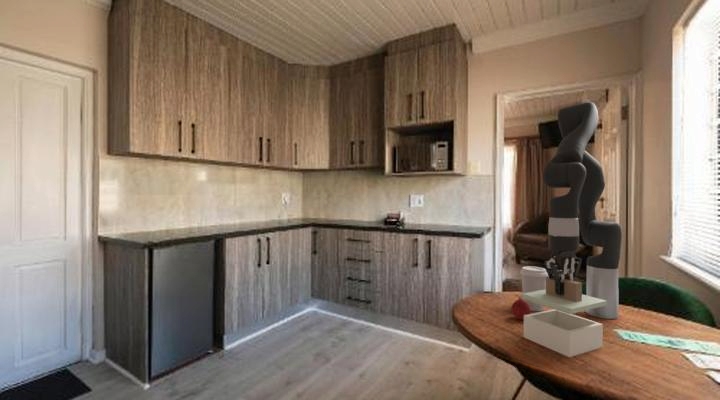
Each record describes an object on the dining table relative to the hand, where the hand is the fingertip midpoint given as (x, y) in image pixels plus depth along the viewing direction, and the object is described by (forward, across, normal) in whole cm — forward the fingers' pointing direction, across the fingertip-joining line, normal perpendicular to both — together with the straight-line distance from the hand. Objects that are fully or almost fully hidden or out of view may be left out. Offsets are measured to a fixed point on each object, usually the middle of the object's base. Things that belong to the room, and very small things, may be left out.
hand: (563, 293), depth 99 cm
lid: (+2, 0, 0) cm, 2 cm away
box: (+14, 0, 0) cm, 14 cm away
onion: (+15, -5, -18) cm, 24 cm away
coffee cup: (+15, -20, -25) cm, 35 cm away
